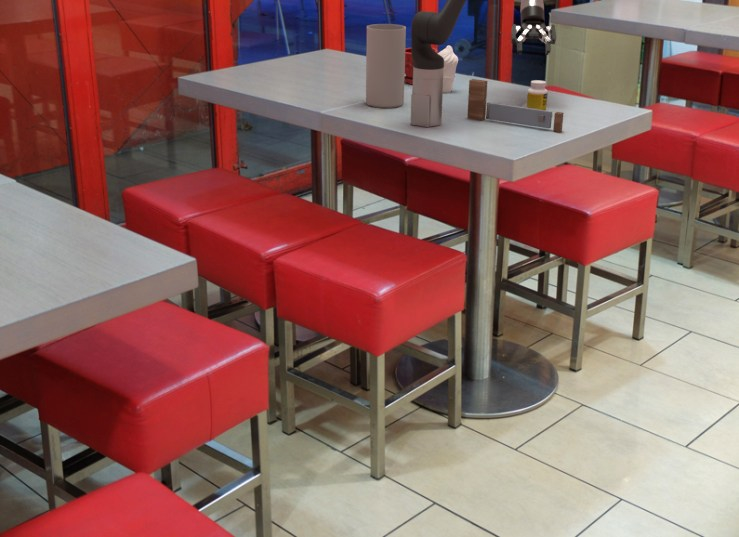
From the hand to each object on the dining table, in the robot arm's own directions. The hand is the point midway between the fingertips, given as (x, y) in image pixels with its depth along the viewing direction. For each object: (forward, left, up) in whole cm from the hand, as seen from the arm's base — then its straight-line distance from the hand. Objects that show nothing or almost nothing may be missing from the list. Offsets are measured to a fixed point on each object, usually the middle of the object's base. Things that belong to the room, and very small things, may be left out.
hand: (534, 53), depth 319 cm
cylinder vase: (-23, +42, -18) cm, 51 cm away
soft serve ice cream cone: (+6, +35, -18) cm, 39 cm away
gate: (-25, -6, -17) cm, 31 cm away
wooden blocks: (-24, -5, -18) cm, 30 cm away
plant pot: (+14, +50, -18) cm, 55 cm away
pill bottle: (-10, -6, -18) cm, 22 cm away
